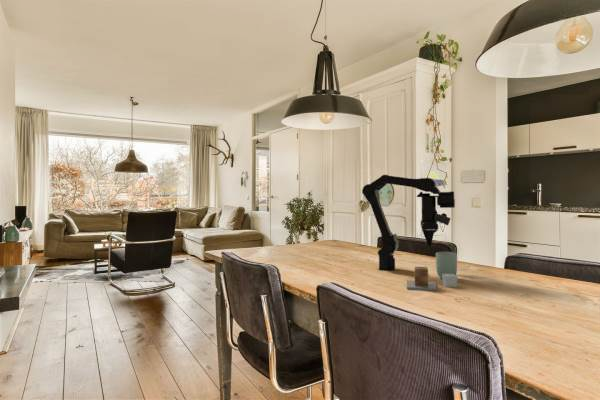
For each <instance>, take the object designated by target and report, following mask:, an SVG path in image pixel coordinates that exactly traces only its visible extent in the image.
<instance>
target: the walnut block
mask: <svg viewBox="0 0 600 400" xmlns="http://www.w3.org/2000/svg"><path fill="white" fill-rule="evenodd" d="M414 281H415V286H428V281H429V269H428V266H414Z"/></svg>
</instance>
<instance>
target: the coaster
mask: <svg viewBox="0 0 600 400" xmlns="http://www.w3.org/2000/svg"><path fill="white" fill-rule="evenodd" d="M406 289H407V290H412V291H430V292H437V290H438V288H437V285H436V281H429V280H428V286H415V280H406Z"/></svg>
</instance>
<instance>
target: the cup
mask: <svg viewBox="0 0 600 400" xmlns="http://www.w3.org/2000/svg"><path fill="white" fill-rule="evenodd" d="M435 268H436V274H437V277H438V278H440V279H442V274H454V275H456V276H457V272H458V253H456V252H452V251H437V252H435Z"/></svg>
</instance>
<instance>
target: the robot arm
mask: <svg viewBox="0 0 600 400" xmlns="http://www.w3.org/2000/svg"><path fill="white" fill-rule="evenodd" d="M388 184H389V185H396V186H403V187H409V188H414V189H416V190H420V192H419V193H418V194H417V195H416V198H421V220H420V228H421V231H422V234H423V236H424V239H425V241H426V244H427V246H430V247H431V246H432V243H433V238H434V234H435V233H436V232H438V230H439V224H438V223H441V224H444V225H445V226H449V224H450V221H451V217H448V216H447V213H441V214H440V213H438V211H437V206H439V208H440V209H442V208H443V209H451V208H452V209H454V208H455V207H456V199H455V191H440V189H439V188H438V187H437V182H436V180H434V179H433V178H430V177H427V178H408V177H400V176H394V175H389V174H382V175H380V176H379V177H378V178H377V179H375V180H374V181H372V182H371V183H367V184H365V185H364V186H363V187H362V190H361V191H362V194H363V196H364V198H365V199H366V201H367V202H368V203H369V204H370V207H371V210H372V212H373V215H374V218H375V220H376V224H377V227H378V228H379V229H378V230H379V231H380V235H381V246H382V247H381V248H379V250H378V251H377V255H378V270H380V271H381V270H382V271H395V268H396V258H395V256H394V254H395V252H396V251H397V250H398V248H399V243H400V240H398V235H397V233H394V234H393V232H392V231H391V229H390V226H389V224H388V221H387V218H386V215H385V213H384V210H383V208H382V205H381V202H380V201H381V200H380V190H382V189H383V188H384V187H385V186H386V185H388ZM423 192H425V193H423ZM431 194H433V195H431ZM436 204H437V205H436Z"/></svg>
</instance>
